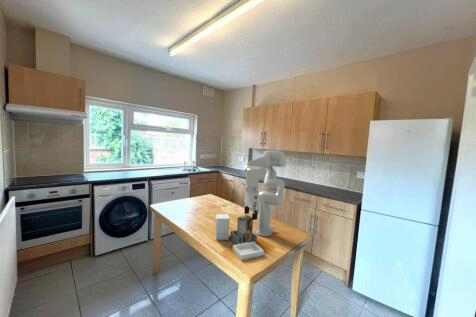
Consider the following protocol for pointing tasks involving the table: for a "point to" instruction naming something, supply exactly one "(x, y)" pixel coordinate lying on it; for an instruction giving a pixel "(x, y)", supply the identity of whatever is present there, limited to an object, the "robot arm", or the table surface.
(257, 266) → the table surface
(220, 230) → the supplement box
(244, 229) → the coffee box
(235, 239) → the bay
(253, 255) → the tray
